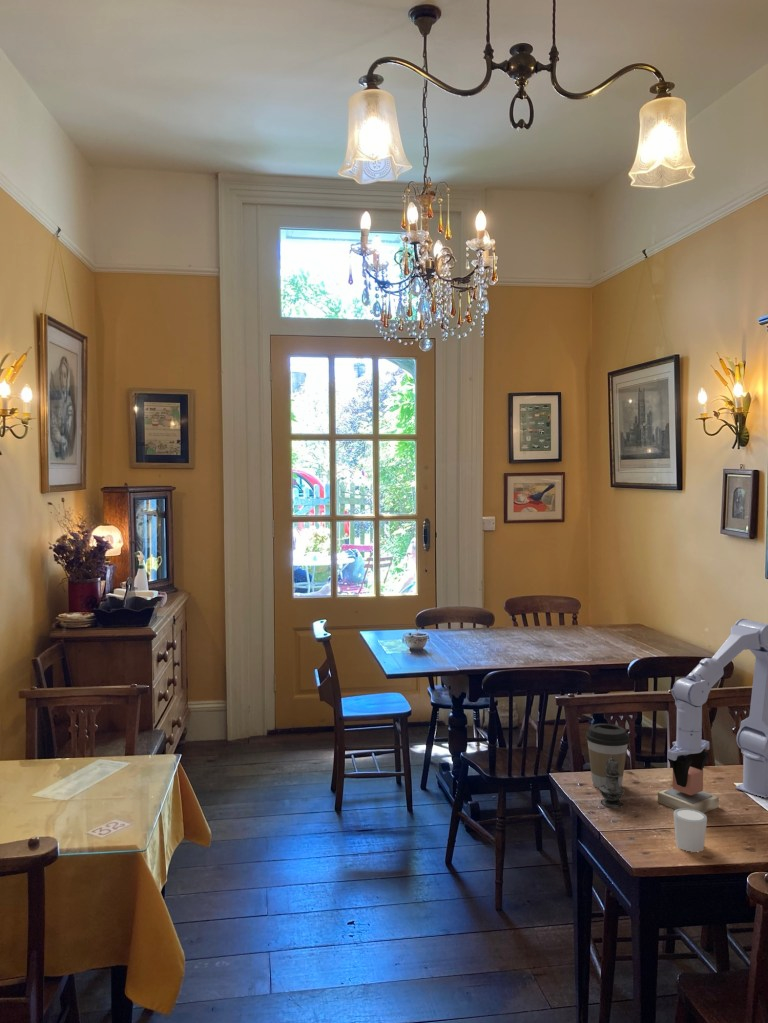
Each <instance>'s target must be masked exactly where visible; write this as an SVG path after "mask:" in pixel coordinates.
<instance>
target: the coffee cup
mask: <svg viewBox="0 0 768 1023" xmlns="http://www.w3.org/2000/svg"><path fill="white" fill-rule="evenodd" d="M588 727H589V728H588V730H587V731H585V735H584V736H585V737H584V738H585V739H586V742H587V747H588V757H589V759H588V760H589V766H590V767H589V768H590V775H591V781H592V785H593V787H594V786H595V788H597V789H598V790H600V786H602V785H605V782H606V775H605V774H604V773H605V772H606V761H607V760H608V759H610V758H611V756H612V755H613V757H614V759H615V760H617V761H618V773H619V774H620V776H618V783H619V786H620V787H622V784H623V778H624V772H625V771H624V770H625V765H626V757H627V754H628V753H627V751H628V745H629V743H630V742H631V738H630V735H629V734H628V733H627V730H626V729H625V728H624V727H622V726H620V725H618V724H611V723H594V724H591V725H590V726H588Z"/></svg>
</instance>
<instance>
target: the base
mask: <svg viewBox="0 0 768 1023" xmlns="http://www.w3.org/2000/svg"><path fill="white" fill-rule="evenodd" d="M719 798H720V797H719V796H717V795H714V794H711V793H709V792H706V791H704V790H703V791H701V792H699V793H696V794H693V795H688V794H685V793H683V792H680V791H678V790H675V789H673V786H672V787H669V788H666V789H663V790H660V791H658V792H657V803H658V802H659V803H658V804H662V805H663V806H666V807H669V808H670V809H674V810H677V809H693V810H696V811H699V812H701V813H703V814H705V813H708V812H711V811H712V810H714V809H717V808H719V801H720V800H719Z"/></svg>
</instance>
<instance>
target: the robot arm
mask: <svg viewBox="0 0 768 1023" xmlns="http://www.w3.org/2000/svg"><path fill="white" fill-rule="evenodd" d="M729 632H730V633H729V634H730V635H729V636H728V637H727V638H726V640H725V641H724V642H723V644H722V645H721V646H720V647H719V648H718V650H717V651H716V652H715V653H714V655H713V656H712V657H711V658H709V657H705V658H702V659H701V660H700V661H699V663H698V664H697V665H696V666H695V667H694V668H693V669H692V671H690V673H689V674H687V675H686V676H685V677H682V678H679V679H678V680H676V681H675V682H674V684H673V686H672V688H671V695H672V697H673V699H674V706H675V708H676V737H675V739H676V740H675V741H672V747H671V748H670V749H669V750H666V751H667V752H666V753H667V757H666V758H667V760H668V762H669V764H670V765H671V768H672V772H673V771H674V774H675V778H676V782H677V785H680V786H682V787H686V784H687V778H688V771H689V768H690V766H691V767H694V768H697V769H700V770H703V771H704V767H705V765H706V763H707V761H708V760H709V759H710V756H711V755H710V753H709V752H708V750H710V741H708V740H705V739H702V734H703V733H702V728H703V727H702V724H703V723H702V722H703V719H702V718H703V705H705V704H706V702H707V701H708V698H709V694H710V692H711V689H712V688H713V686H714V685H715V684H717V682H718V681H719V680H720V679H721V678H723V676H724V675H725V674H724V673H725V672H724V668H725V667H726V666H727V665H728V664H729V663H731V662H732V661H733V660H734V659H735V658H736V657H737V656H739V654H741V653H743V651H744V650H749V651H750V652H751V653H752V654H753V655H754V657H755V659H754V661H755V662H754V669H753V680H752V688H751V697H750V698H751V699H750V706H749V708H750V709H749V715H748V717H746V718H745V719H743V720H741V721H740V726H739V729H738V731H737V734H736V739H735V740H736V744H737V746H738V748H739V749H740V751H741V752H740V753H742V755H743V760H742V761H743V763H742V764H743V768H742V770H743V771H742V783H740V784H739V785H736V786H735V789H736V790H740V791H742V792H745V793H748V794H751V795H754V796H756V795H757V797H759V796H761V797H760V798H762V797H764V798H763V799H767V798H766V797H768V623H764V622H759V621H754V620H750V619H749V620H748V619H746V618H739V619H738V620H736V622H735V623H734V625H732V626H731V627H730V631H729ZM706 751H707V752H706Z"/></svg>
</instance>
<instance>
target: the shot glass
mask: <svg viewBox="0 0 768 1023" xmlns="http://www.w3.org/2000/svg"><path fill="white" fill-rule="evenodd" d="M707 821H708V816H707V815H706V814H705V813H701V812H699V811H696V810H693V809H677V810H676V809H674V811H673V824H674V834H675V835H674V838H675V845H676V847H677V849H679V850H681V849H683V850H682V851H684V850H686V851H685V852H687V851H691V852H690V853H692V852H697V851H702V850H703V851H704V848H705V839H706V832H707V831H706V830H707V824H708V823H707ZM703 851H702V852H703ZM697 853H698V852H697Z"/></svg>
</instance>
